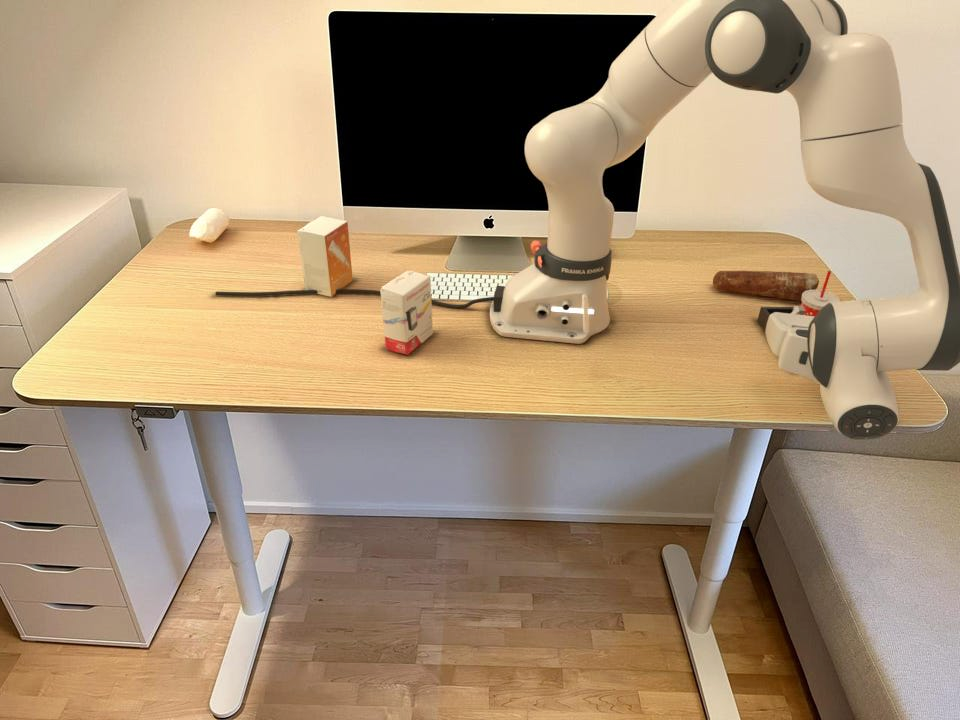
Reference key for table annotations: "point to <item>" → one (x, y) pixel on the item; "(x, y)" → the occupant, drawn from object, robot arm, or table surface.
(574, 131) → the robot arm
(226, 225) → the roll
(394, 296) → the ink box
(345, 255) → the small box
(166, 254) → the table surface
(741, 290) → the bread
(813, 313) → the beverage cup
